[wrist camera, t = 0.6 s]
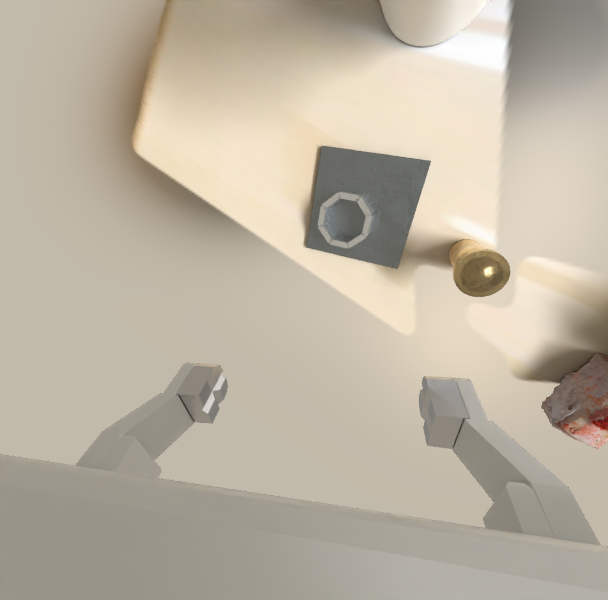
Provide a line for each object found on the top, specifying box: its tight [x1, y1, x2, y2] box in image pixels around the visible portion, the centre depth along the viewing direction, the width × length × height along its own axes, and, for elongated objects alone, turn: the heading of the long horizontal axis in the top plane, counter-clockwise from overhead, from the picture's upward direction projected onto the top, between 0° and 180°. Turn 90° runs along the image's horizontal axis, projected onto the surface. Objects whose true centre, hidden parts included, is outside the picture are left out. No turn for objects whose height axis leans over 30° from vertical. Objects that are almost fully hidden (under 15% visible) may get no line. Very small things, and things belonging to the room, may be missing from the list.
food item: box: [542, 353, 608, 449], centre depth 44 cm, size 14×8×10 cm, turn 162°
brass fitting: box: [449, 239, 510, 297], centre depth 42 cm, size 6×6×12 cm
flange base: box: [307, 146, 431, 269], centre depth 48 cm, size 18×18×4 cm
